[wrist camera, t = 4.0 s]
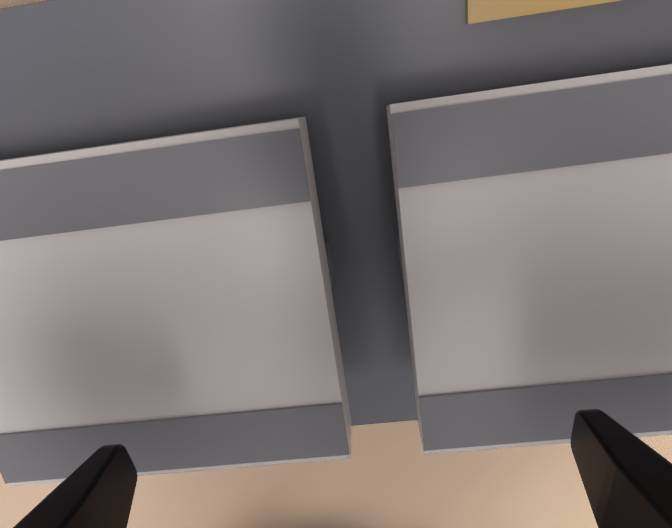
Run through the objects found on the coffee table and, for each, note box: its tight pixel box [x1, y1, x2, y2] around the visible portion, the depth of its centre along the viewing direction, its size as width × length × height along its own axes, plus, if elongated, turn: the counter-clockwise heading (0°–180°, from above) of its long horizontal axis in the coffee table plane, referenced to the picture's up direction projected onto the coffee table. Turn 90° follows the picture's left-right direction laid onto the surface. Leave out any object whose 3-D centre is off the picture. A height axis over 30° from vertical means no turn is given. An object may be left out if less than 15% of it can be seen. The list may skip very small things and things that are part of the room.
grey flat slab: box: [386, 64, 672, 455], centre depth 12 cm, size 9×10×2 cm
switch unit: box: [0, 0, 672, 426], centre depth 15 cm, size 15×24×4 cm, turn 98°
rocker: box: [0, 116, 351, 486], centre depth 13 cm, size 9×10×2 cm
